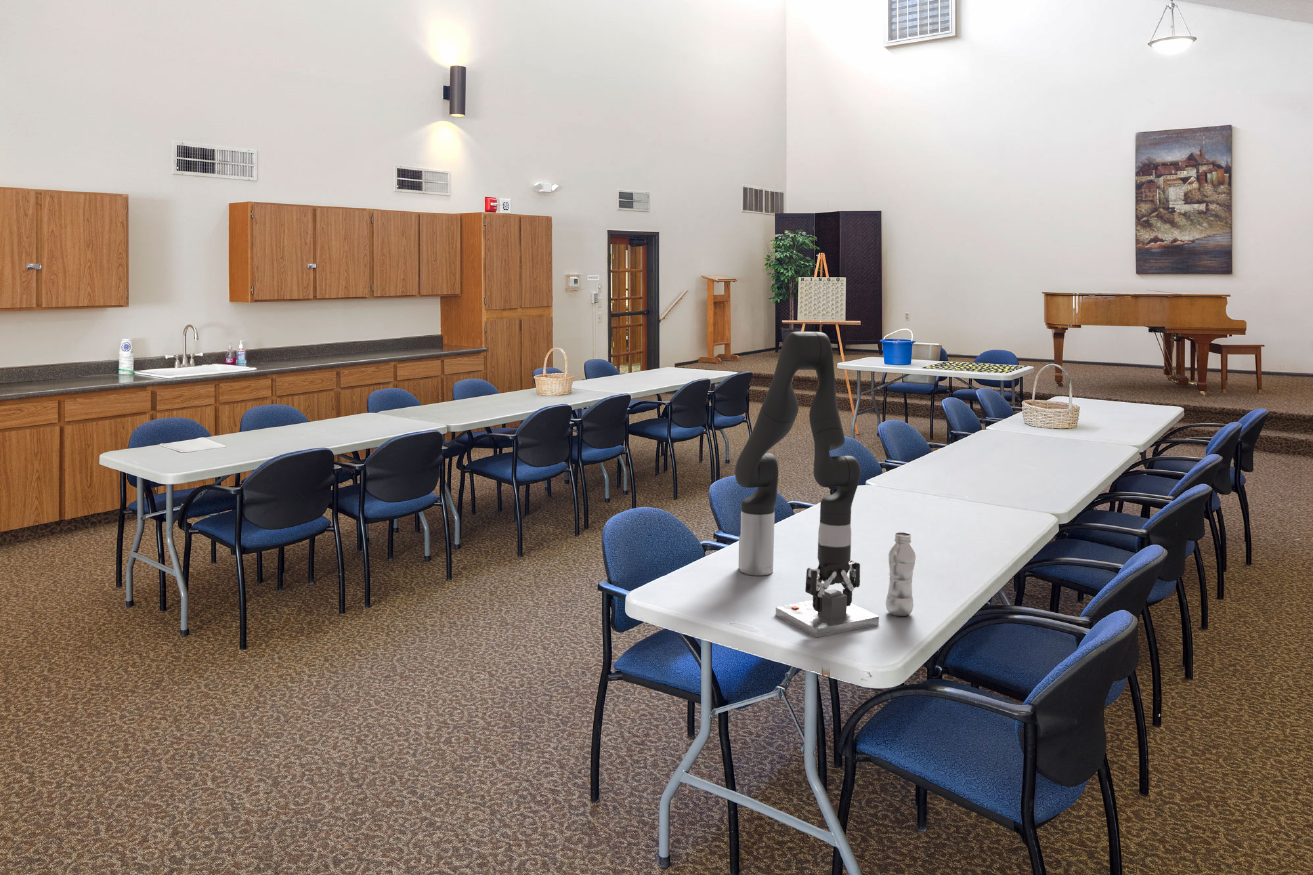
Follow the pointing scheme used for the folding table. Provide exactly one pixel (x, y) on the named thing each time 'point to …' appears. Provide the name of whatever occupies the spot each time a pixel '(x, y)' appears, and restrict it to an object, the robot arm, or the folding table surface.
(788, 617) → the socket plate
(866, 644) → the folding table surface
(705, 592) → the folding table surface
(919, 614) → the folding table surface
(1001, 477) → the folding table surface
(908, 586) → the plastic bottle
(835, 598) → the plug
